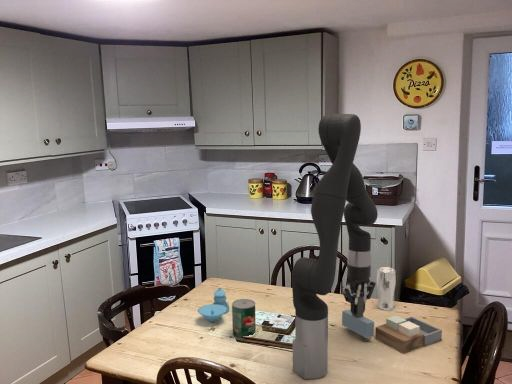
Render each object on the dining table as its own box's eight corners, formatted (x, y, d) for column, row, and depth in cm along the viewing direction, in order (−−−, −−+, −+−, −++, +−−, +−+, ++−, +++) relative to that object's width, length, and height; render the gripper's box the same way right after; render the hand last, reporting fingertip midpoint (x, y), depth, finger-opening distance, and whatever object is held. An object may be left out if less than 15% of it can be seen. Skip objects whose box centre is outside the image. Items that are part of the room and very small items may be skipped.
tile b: (396, 330, 152) (396, 323, 152) (386, 325, 156) (386, 318, 156) (406, 327, 154) (406, 320, 154) (395, 322, 158) (396, 315, 158)
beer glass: (381, 311, 177) (383, 273, 175) (372, 304, 183) (373, 267, 181) (398, 309, 179) (399, 271, 176) (388, 302, 185) (389, 266, 183)
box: (424, 346, 150) (425, 336, 149) (394, 331, 160) (395, 321, 160) (441, 340, 154) (441, 330, 153) (411, 325, 164) (411, 316, 164)
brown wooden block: (403, 353, 145) (403, 341, 145) (375, 338, 156) (375, 327, 155) (423, 346, 150) (423, 334, 149) (394, 331, 160) (395, 320, 159)
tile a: (409, 337, 148) (409, 329, 147) (398, 331, 151) (398, 324, 151) (419, 333, 150) (419, 326, 149) (408, 328, 154) (408, 321, 153)
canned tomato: (253, 340, 156) (252, 308, 154) (230, 338, 157) (229, 307, 156) (257, 329, 163) (257, 299, 162) (235, 328, 165) (235, 298, 163)
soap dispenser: (222, 328, 165) (221, 304, 163) (194, 326, 167) (193, 302, 166) (235, 308, 182) (235, 286, 181) (210, 306, 184) (209, 284, 183)
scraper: (366, 338, 152) (367, 302, 150) (342, 324, 162) (342, 291, 160) (373, 336, 153) (374, 300, 152) (348, 323, 164) (349, 289, 162)
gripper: (350, 269, 148) (349, 321, 150) (383, 262, 155) (381, 312, 157) (335, 263, 154) (334, 313, 157) (366, 256, 161) (365, 305, 164)
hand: (357, 312), depth 157 cm, fingers closed on scraper, 2 cm apart
